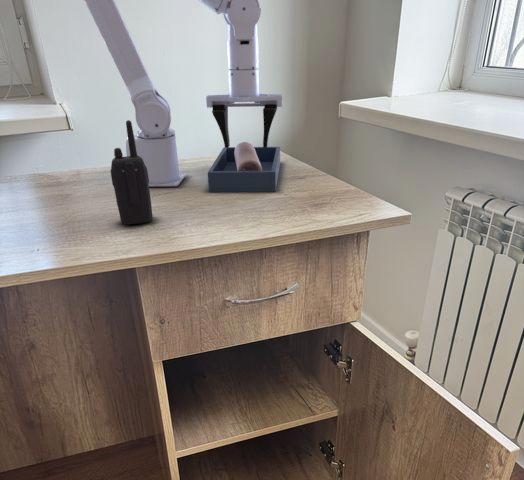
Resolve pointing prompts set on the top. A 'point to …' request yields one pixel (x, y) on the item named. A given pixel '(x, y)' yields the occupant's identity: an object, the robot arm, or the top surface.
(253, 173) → the holder
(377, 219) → the top surface
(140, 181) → the two-way radio
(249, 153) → the pink hollow tube
